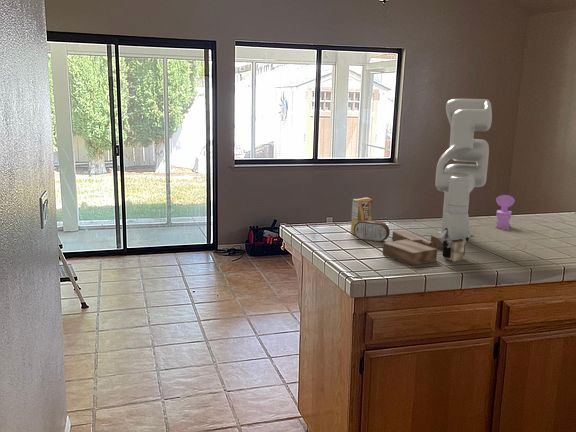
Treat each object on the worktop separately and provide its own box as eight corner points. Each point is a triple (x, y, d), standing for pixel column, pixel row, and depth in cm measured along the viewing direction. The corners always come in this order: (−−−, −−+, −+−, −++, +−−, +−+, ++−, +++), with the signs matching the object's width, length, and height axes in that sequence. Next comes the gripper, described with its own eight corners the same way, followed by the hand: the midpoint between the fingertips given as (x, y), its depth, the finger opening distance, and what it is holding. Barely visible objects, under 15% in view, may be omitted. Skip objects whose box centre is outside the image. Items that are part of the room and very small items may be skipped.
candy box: (364, 230, 246) (365, 197, 243) (371, 232, 243) (372, 198, 240) (350, 233, 240) (351, 199, 237) (357, 234, 237) (359, 200, 234)
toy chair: (492, 227, 255) (495, 196, 252) (493, 224, 263) (496, 193, 260) (511, 229, 252) (515, 198, 249) (512, 225, 260) (515, 195, 257)
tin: (389, 241, 227) (390, 222, 225) (387, 243, 224) (388, 223, 222) (354, 237, 233) (355, 218, 231) (352, 239, 230) (353, 219, 228)
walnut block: (405, 251, 213) (406, 239, 212) (436, 262, 200) (437, 249, 199) (382, 255, 207) (383, 242, 206) (411, 266, 194) (412, 253, 193)
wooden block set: (413, 238, 211) (391, 228, 228) (412, 252, 213) (391, 241, 229) (451, 235, 216) (427, 225, 233) (450, 249, 217) (426, 238, 234)
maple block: (452, 256, 206) (454, 238, 205) (463, 259, 202) (464, 241, 201) (443, 258, 204) (444, 240, 202) (453, 261, 200) (455, 243, 198)
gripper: (465, 205, 207) (461, 250, 210) (432, 209, 198) (429, 256, 202) (481, 209, 200) (477, 255, 204) (448, 213, 192) (444, 261, 195)
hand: (453, 255), depth 203 cm, fingers open, 6 cm apart
